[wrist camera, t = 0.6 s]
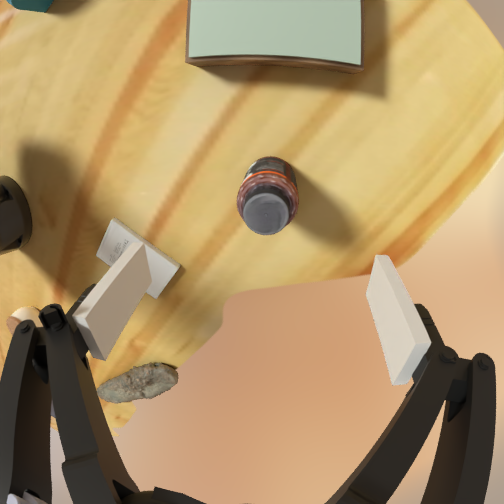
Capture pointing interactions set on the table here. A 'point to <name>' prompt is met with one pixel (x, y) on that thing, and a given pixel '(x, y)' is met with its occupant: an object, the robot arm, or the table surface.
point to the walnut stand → (277, 33)
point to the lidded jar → (23, 317)
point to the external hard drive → (159, 262)
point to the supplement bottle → (268, 196)
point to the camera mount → (31, 4)
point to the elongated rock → (139, 383)
